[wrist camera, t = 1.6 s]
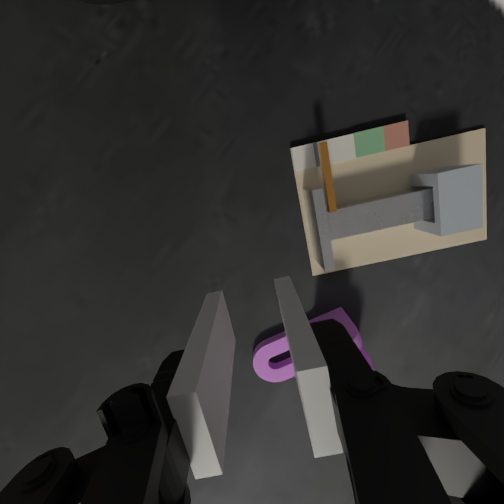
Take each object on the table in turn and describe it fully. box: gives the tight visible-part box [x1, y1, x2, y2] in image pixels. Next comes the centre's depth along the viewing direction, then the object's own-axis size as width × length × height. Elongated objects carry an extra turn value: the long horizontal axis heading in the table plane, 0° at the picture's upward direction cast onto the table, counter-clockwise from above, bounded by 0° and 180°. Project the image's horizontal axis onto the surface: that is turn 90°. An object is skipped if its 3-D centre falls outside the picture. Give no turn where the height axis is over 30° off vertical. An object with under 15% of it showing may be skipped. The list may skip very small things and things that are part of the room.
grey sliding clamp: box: [303, 141, 435, 272], centre depth 27 cm, size 12×14×5 cm
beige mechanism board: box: [290, 120, 487, 276], centre depth 28 cm, size 14×20×5 cm
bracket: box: [253, 307, 375, 382], centre depth 31 cm, size 13×6×7 cm, turn 116°
